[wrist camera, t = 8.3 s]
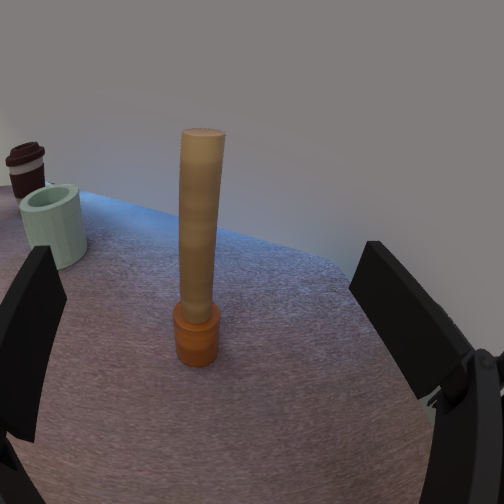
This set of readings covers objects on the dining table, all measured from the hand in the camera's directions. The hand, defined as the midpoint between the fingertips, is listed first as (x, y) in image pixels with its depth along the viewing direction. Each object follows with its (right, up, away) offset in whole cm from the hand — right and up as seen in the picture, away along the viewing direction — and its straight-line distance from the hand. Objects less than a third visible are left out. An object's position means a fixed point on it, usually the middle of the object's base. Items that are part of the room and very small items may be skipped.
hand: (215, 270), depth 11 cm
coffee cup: (-49, +11, +39) cm, 63 cm away
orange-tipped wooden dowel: (-4, -10, +18) cm, 21 cm away
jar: (-30, +1, +28) cm, 41 cm away
